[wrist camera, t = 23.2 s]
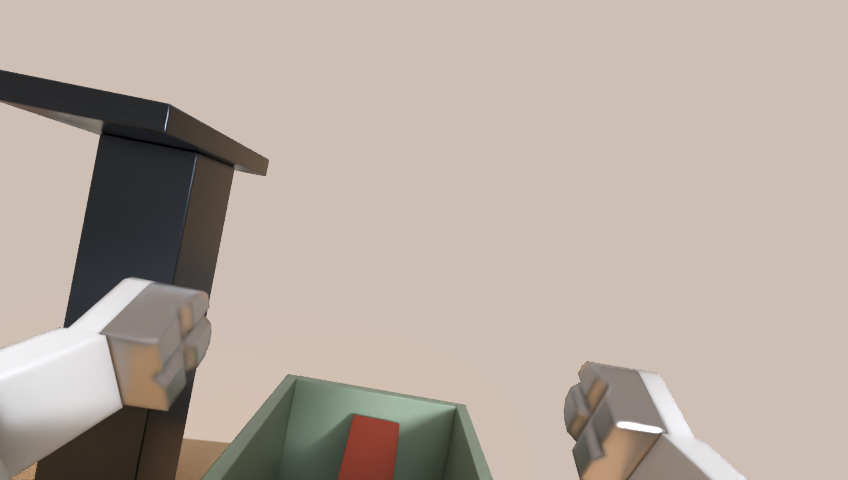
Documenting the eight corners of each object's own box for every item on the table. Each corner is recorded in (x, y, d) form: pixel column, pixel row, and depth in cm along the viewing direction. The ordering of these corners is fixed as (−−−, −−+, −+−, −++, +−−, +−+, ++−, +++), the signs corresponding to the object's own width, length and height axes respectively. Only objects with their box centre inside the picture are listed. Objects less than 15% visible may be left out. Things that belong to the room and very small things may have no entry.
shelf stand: (220, 527, 31) (290, 163, 31) (87, 741, 18) (208, 111, 18) (75, 504, 30) (146, 135, 30) (-172, 707, 17) (-48, 59, 17)
